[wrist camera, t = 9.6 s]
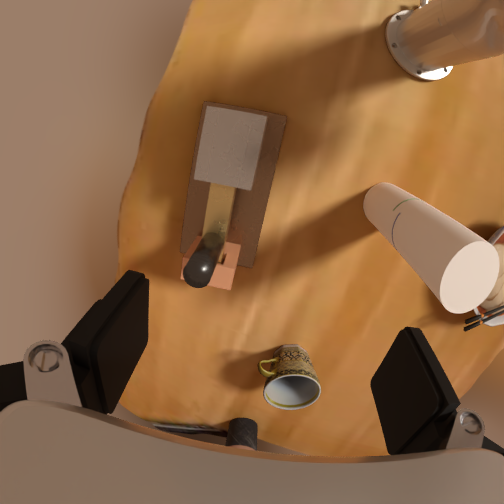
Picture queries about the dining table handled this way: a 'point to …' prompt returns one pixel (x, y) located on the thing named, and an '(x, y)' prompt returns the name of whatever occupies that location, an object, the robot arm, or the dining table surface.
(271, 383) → the ceramic cup
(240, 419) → the travel mug
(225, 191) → the sliding bolt with handle
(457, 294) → the cylindrical container
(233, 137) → the brown wooden base board
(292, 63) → the dining table surface
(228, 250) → the socket
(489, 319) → the ramen bowl
